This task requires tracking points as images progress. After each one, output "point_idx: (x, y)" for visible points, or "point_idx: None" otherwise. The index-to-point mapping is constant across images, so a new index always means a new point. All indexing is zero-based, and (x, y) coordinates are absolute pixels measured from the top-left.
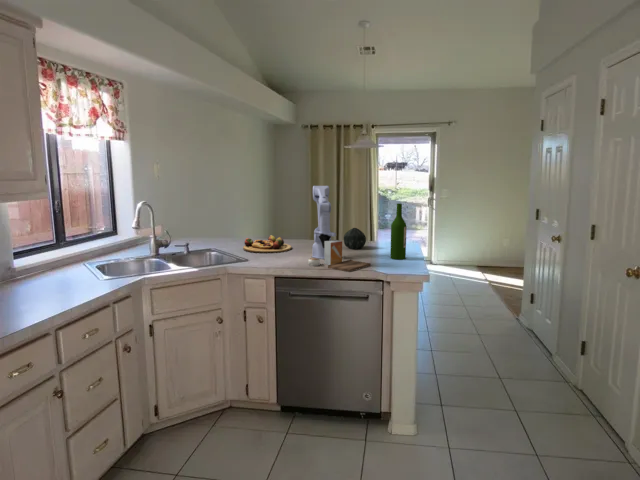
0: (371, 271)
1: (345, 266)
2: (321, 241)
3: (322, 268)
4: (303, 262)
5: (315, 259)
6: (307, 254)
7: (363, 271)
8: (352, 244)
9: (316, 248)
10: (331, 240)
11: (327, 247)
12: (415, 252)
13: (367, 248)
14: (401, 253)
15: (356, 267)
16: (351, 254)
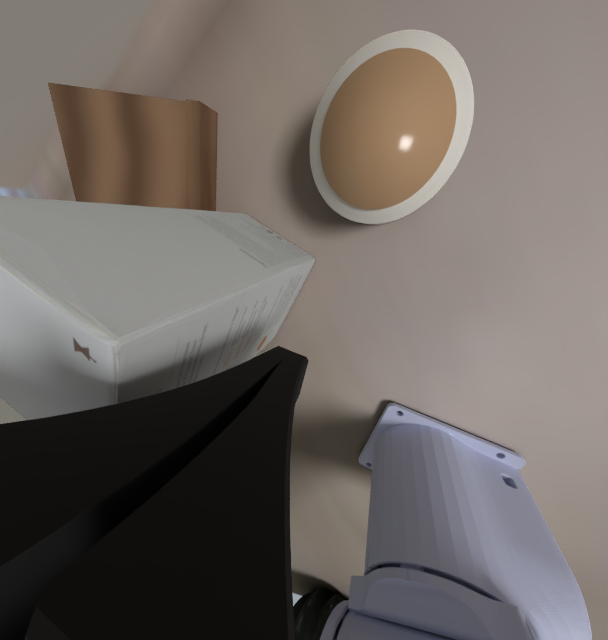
0: (37, 192)
1: (117, 173)
2: (273, 431)
3: (243, 55)
4: (560, 220)
5: (340, 100)
6: (599, 546)
7: (48, 166)
8: (326, 620)
9: (496, 529)
10: None
11: (148, 244)
12: None
13: (293, 587)
14: None
15: (73, 187)
16: (295, 510)
